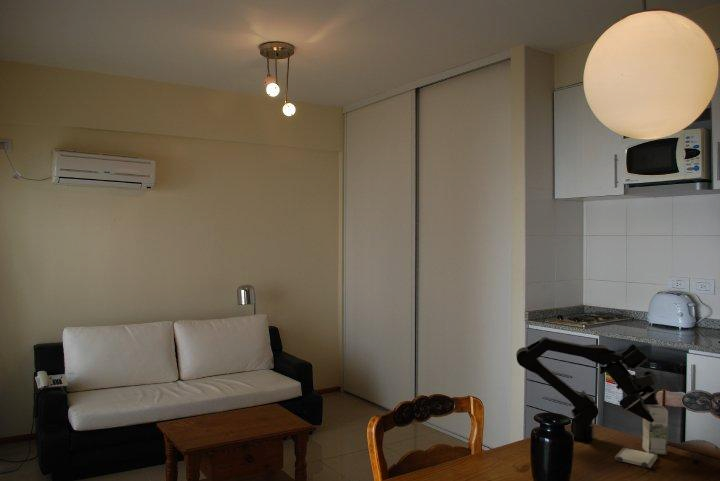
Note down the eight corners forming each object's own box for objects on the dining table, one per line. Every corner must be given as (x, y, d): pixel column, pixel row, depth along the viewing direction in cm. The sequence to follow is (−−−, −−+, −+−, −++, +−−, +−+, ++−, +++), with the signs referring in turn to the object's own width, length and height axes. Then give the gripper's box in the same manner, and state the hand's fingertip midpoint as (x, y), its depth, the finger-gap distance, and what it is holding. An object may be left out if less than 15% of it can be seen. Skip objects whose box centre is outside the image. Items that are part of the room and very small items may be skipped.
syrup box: (660, 448, 191) (660, 404, 191) (667, 455, 185) (668, 409, 185) (641, 447, 191) (642, 403, 191) (648, 454, 185) (649, 409, 185)
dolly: (614, 461, 180) (614, 455, 180) (623, 450, 189) (623, 445, 189) (649, 469, 174) (649, 463, 174) (657, 458, 183) (657, 452, 183)
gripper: (630, 368, 184) (667, 410, 177) (650, 359, 198) (686, 398, 190) (604, 388, 190) (640, 430, 182) (626, 378, 203) (660, 417, 196)
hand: (657, 418), depth 187 cm, fingers open, 9 cm apart
